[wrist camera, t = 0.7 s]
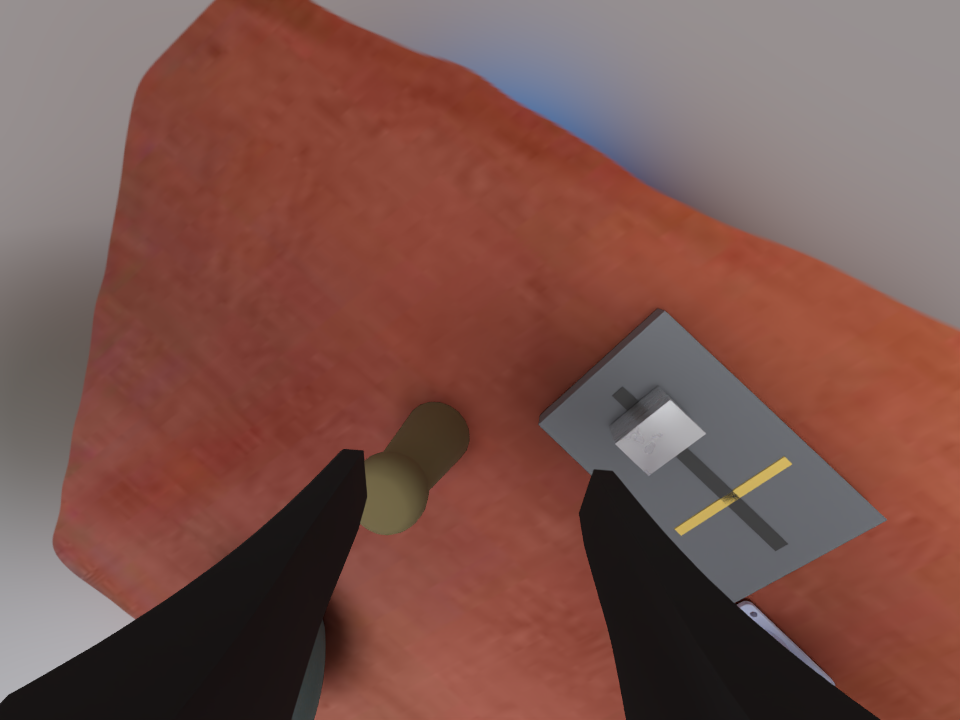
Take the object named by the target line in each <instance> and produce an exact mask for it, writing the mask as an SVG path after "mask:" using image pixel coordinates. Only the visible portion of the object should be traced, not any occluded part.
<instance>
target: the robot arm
mask: <svg viewBox="0 0 960 720" xmlns="http://www.w3.org/2000/svg"><path fill="white" fill-rule="evenodd" d="M366 500H367V486H366V474H365V463H364V451H362V450H350V449H343V450H342V451H340V452H339V453H338V454H337V456H336V457H335V458H334V459H333V460H332V461H331V462H330V463H329V464H328V465H327V466H326V467H325V468H324V469H323V470H322V471H321V472H320V473H319V474H318V475H317V476H316V477H315V478H314V479H313V480H312V481H311V482H310V483H309V484H308V485H307V486H306V487H305V488H304V489H303V490H302V491H301V492H300V493H299V494H298V495H297V496H296V497H295V498H294V499H293V500H292V501H290V502H289V503H288V504H287V505H286V506H285V507H284V508H283V509H282V510H281V511H280V512H278V513H277V514H276V515H275V516H274V517H273V518H272V519H271V520H269V521H268V522H267V523H266V524H265V525H264V526H263V527H261V528H260V529H259V530H258V531H257V532H256V533H255V534H253V535H252V536H251V537H250V538H248V539H247V540H246V541H245V542H244V543H242V544H241V545H240V546H239V547H237V548H236V549H235V550H234V551H232V552H231V553H230V554H229V555H227V556H226V557H225V558H223V559H222V560H221V561H220V562H218V563H217V564H216V565H214V566H213V567H211V568H210V569H209V570H207V571H206V572H205V573H203V574H202V575H200V576H199V577H198V578H196V579H195V580H194V581H192V582H191V583H189V584H188V585H187V586H185V587H184V588H182V589H181V590H180V591H178V592H177V593H175V594H174V595H172V596H171V597H169V598H168V599H166V600H165V601H164V602H162V603H160V604H159V605H157V606H156V607H154V608H153V609H151V610H150V611H148V612H147V613H145V614H143V615H142V616H140V617H139V618H137V619H136V620H134V621H133V622H131V623H130V624H128V625H126V626H125V627H123V628H122V629H120V630H119V631H117V632H116V633H114V634H112V635H111V636H109V637H108V638H106V639H104V640H103V641H101V642H100V643H98V644H97V645H95V646H93V647H91V648H90V649H88V650H86V651H84V652H83V653H81V654H79V655H77V656H76V657H74V658H72V659H71V660H69V661H67V662H65V663H64V664H62V665H60V666H58V667H57V668H55V669H53V670H52V671H50V672H48V673H47V674H45V675H43V676H41V677H39V678H38V679H36V680H34V681H32V682H31V683H29V684H27V685H25V686H24V687H22V688H20V689H18V690H17V691H15V692H13V693H11V694H9V695H8V696H7V697H6V698H5V699H4V700H3V701H2V702H1V703H0V720H292V716H293V713H294V709H295V706H296V703H297V699H298V696H299V692H300V689H301V686H302V682H303V679H304V676H305V672H306V669H307V666H308V663H309V659H310V656H311V653H312V650H313V647H314V643H315V640H316V637H317V634H318V631H319V627H320V625H321V622H322V619H323V616H324V614H325V611H326V608H327V606H328V603H329V601H330V598H331V596H332V593H333V591H334V588H335V586H336V584H337V581H338V579H339V576H340V574H341V571H342V569H343V566H344V564H345V561H346V559H347V557H348V554H349V552H350V549H351V547H352V544H353V542H354V539H355V537H356V534H357V531H358V529H359V525H360V522H361V518H362V515H363V511H364V508H365V504H366ZM579 516H580V523H581V529H582V535H583V541H584V547H585V550H586V554H587V558H588V561H589V565H590V568H591V572H592V575H593V579H594V582H595V586H596V589H597V593H598V596H599V600H600V603H601V607H602V610H603V614H604V617H605V620H606V624H607V628H608V632H609V636H610V640H611V644H612V648H613V653H614V658H615V663H616V668H617V673H618V678H619V683H620V689H621V694H622V700H623V705H624V711H625V716H626V720H880V719H879V718H877V717H876V716H875V715H873V714H872V713H870V712H869V711H868V710H866V709H865V708H863V707H862V706H861V705H859V704H858V703H857V702H855V701H854V700H852V699H851V698H850V697H848V696H847V695H846V694H844V693H843V692H842V691H840V690H839V689H838V688H836V687H835V683H834V682H833V680H832V679H831V678H830V677H829V676H828V675H827V674H826V673H825V672H824V671H823V670H822V669H821V668H820V667H819V666H818V665H817V664H816V663H815V662H814V661H812V660H811V659H810V658H809V657H808V656H807V655H806V654H805V653H804V652H803V651H802V650H801V649H800V648H799V647H798V646H797V645H796V644H795V643H794V642H793V641H792V640H790V639H789V638H788V637H787V636H786V635H785V634H784V633H783V632H782V631H781V630H780V629H779V628H778V627H777V626H776V625H775V624H774V623H773V622H772V621H771V620H770V619H768V618H767V617H766V616H765V615H764V614H763V613H762V612H761V611H760V610H759V609H758V608H757V607H756V606H755V605H754V604H753V603H751V602H749V601H743V602H741V603H739V604H737V605H736V604H735V603H734V602H733V601H732V600H731V599H730V598H728V597H727V596H726V595H725V594H724V593H723V592H722V591H721V590H720V589H719V588H718V587H717V586H716V585H715V584H714V583H713V582H712V581H710V580H709V579H708V578H707V577H706V576H705V575H704V574H703V573H702V572H701V571H700V570H699V569H698V568H697V567H696V565H695V564H694V563H693V562H692V561H691V560H690V559H689V558H688V557H687V556H686V555H685V554H684V553H683V552H682V551H681V550H680V549H679V548H678V547H677V545H676V544H675V543H674V542H673V541H672V540H671V539H670V538H669V537H668V536H667V534H666V533H665V532H664V531H663V530H662V529H661V528H660V526H659V525H658V524H657V523H656V522H655V521H654V520H653V518H652V517H651V516H650V515H649V514H648V513H647V511H646V510H645V509H644V508H643V507H642V505H641V504H640V503H639V502H638V501H637V499H636V498H635V497H634V496H633V495H632V493H631V492H630V491H629V490H628V488H627V487H626V486H625V485H624V484H623V482H622V481H621V480H620V479H619V477H618V476H617V475H616V474H615V473H614V472H613V471H610V470H598V469H594V470H593V473H592V476H591V479H590V482H589V485H588V488H587V491H586V494H585V497H584V500H583V503H582V506H581V509H580V512H579ZM751 612H753V613H751Z"/></svg>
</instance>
